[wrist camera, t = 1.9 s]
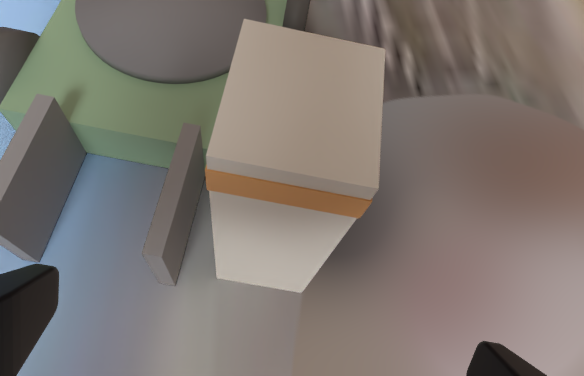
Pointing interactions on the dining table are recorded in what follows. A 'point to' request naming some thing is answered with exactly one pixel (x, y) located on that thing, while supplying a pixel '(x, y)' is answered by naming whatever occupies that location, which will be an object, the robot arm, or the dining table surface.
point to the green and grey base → (119, 107)
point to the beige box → (292, 152)
